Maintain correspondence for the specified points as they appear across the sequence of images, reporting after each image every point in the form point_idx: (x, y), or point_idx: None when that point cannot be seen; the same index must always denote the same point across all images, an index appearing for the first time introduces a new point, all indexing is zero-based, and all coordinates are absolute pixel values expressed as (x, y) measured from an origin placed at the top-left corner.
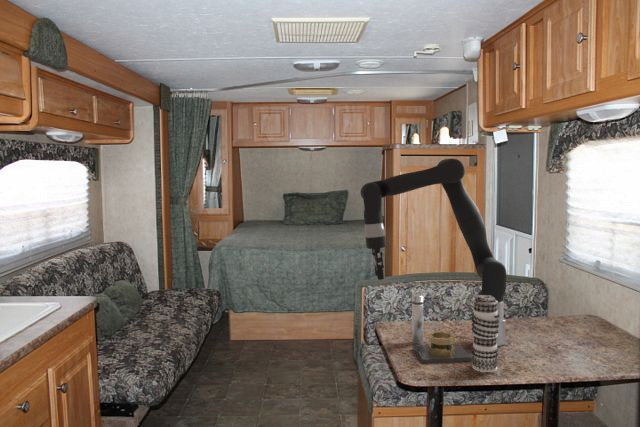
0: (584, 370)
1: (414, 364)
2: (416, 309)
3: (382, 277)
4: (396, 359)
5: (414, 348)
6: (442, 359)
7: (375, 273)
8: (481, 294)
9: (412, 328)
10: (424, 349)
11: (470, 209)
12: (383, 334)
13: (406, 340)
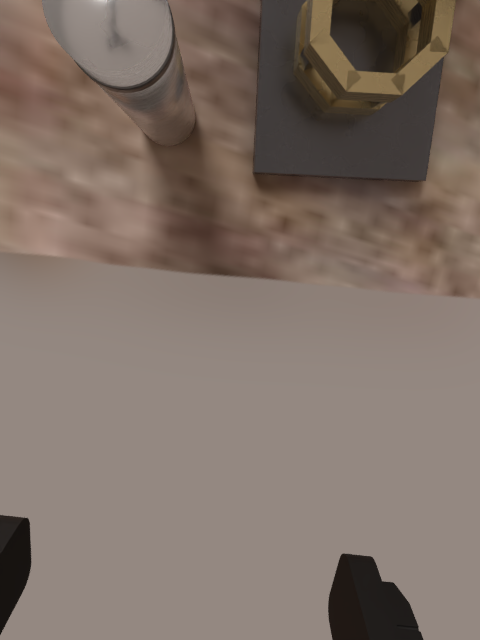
0: None
1: (411, 218)
2: (173, 77)
3: (401, 595)
4: (344, 276)
5: (290, 173)
6: (437, 85)
7: (11, 609)
8: None
9: (161, 132)
10: (312, 128)
11: None
12: (28, 253)
13: (126, 163)
